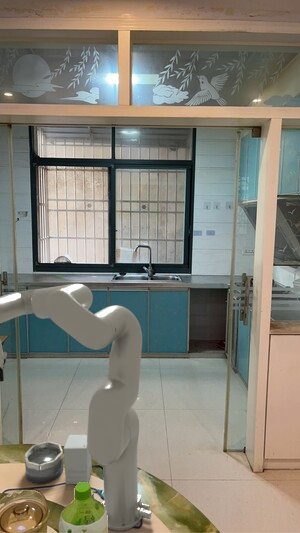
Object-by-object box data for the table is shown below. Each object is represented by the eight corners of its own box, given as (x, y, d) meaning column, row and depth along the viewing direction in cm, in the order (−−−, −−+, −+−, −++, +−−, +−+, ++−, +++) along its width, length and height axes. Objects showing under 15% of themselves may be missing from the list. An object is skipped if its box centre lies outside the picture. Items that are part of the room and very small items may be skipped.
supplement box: (92, 468, 122) (91, 434, 120) (88, 485, 115) (86, 448, 113) (70, 468, 122) (69, 434, 121) (64, 484, 115) (63, 448, 113)
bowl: (70, 463, 125) (69, 445, 124) (49, 488, 114) (48, 468, 113) (40, 456, 129) (39, 438, 128) (18, 479, 118) (16, 460, 117)
